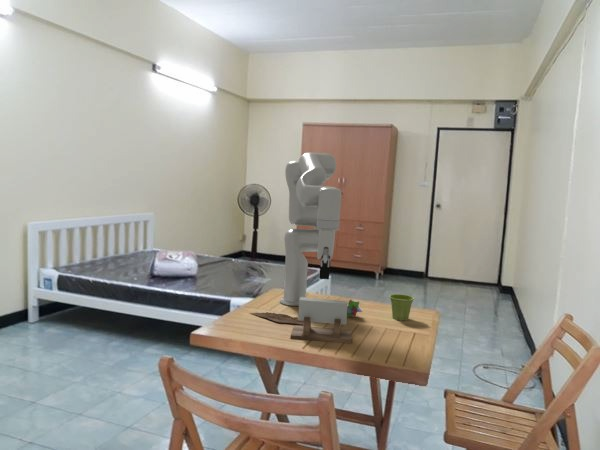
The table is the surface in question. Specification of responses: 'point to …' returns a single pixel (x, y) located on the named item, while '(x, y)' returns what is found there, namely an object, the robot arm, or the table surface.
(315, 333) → the wooden display stand
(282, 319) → the wooden fragment
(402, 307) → the plant pot
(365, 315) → the table surface
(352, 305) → the geometric puzzle
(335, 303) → the clay bar
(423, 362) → the table surface
